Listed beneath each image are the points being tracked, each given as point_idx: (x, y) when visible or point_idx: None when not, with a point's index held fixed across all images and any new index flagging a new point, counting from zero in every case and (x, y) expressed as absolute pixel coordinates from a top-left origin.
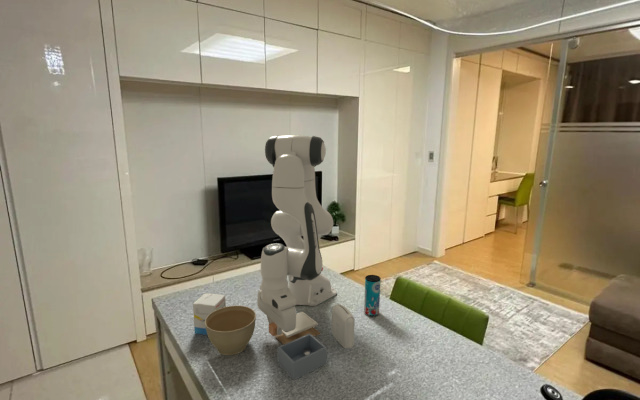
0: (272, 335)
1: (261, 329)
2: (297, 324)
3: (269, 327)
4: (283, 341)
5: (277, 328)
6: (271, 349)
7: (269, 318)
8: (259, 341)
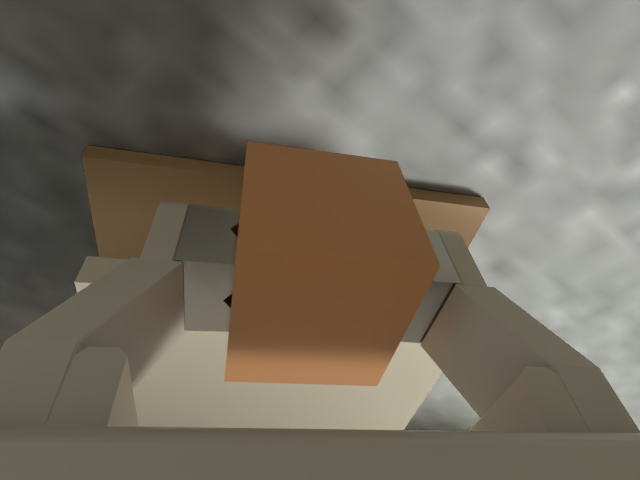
0: (272, 148)
1: (602, 171)
2: (226, 424)
3: (393, 223)
4: (225, 199)
5: (99, 305)
6: (214, 7)
7: (515, 377)
8: (484, 2)
